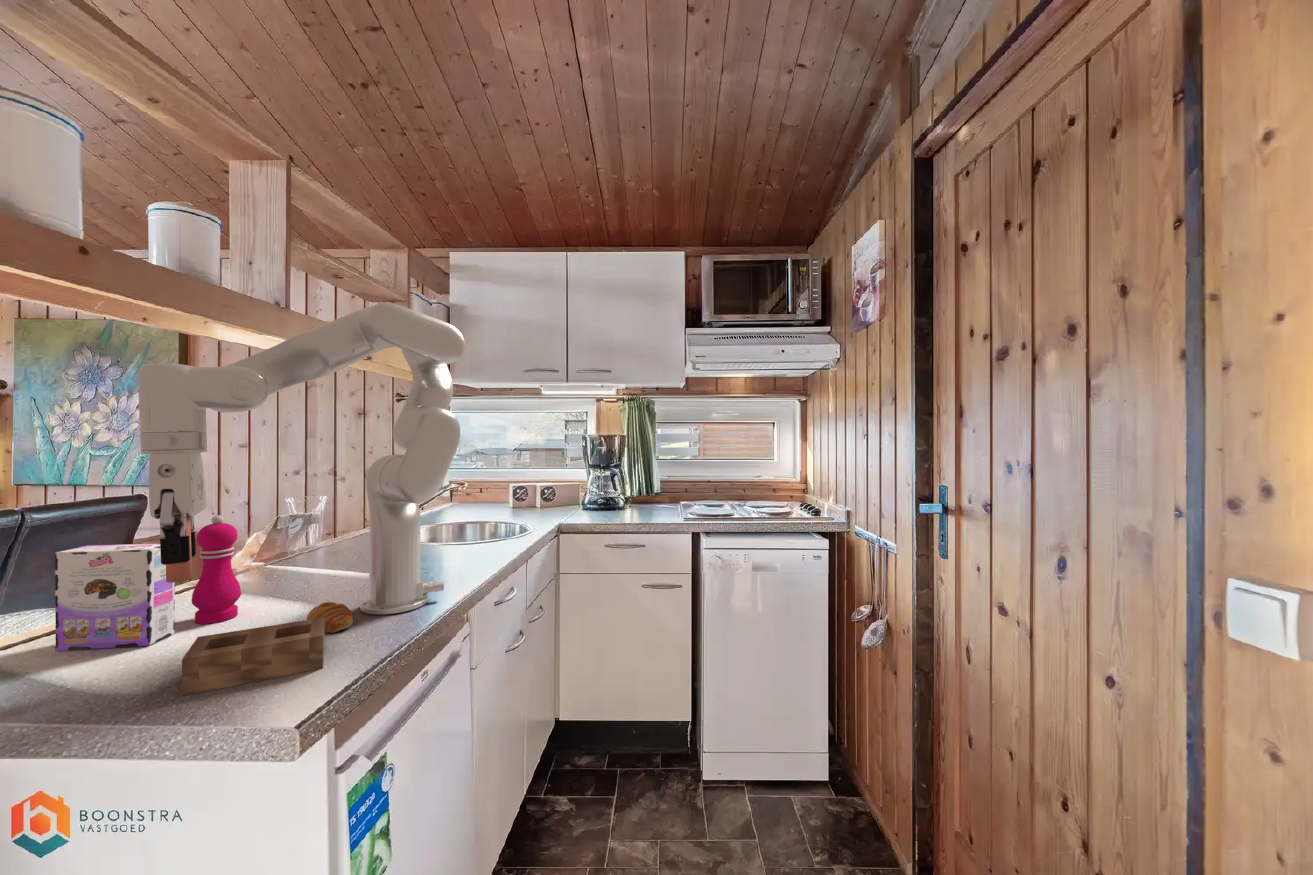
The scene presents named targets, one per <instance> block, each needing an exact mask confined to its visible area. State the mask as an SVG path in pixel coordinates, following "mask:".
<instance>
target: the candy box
mask: <svg viewBox="0 0 1313 875" xmlns="http://www.w3.org/2000/svg"><path fill="white" fill-rule="evenodd" d="M175 583H176V582H174V583H167V582H166V565H163V564H161V550H160V543H139V544H138V543H136V544H135V543H134V544H130V543H129V544H128V543H127V544H101V545H100V544H98V545H97V544H96V545H95V544H93V545H85V546H79V547H75V548H69V549H65V550H61V551H56V552H55V553H54V584H55V586H54V590H55V591H54V595H55V596H54V598H55V600H54V601H55V602H54V603H55V607H54V611H55V614H54V615H55V628H54V629H55V647H54V650H55V652H67V651H75V650H76V651H77V650H78V651H79V650H97V649H98V650H99V649H112V648H113V649H114V648H129V647H144V646H147V647H148V646H151V645H152V644H155V643H158V642H159V641H162V640H164V639H166V638H168V637H170V636H172V635H174V634H175V617H176V616H175V604H176V602H175V595H176V594H175V593H176V592H175V589H176V588H175V586H176V585H175Z"/></svg>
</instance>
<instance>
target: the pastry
mask: <svg viewBox="0 0 1313 875" xmlns="http://www.w3.org/2000/svg"><path fill="white" fill-rule="evenodd" d="M324 617H325V634H327V633H331V634H334V633H337V632H339V631H341V630H344V629H349V628H351V626H352V625H353V623H354V617H353V613H352V611H351V609H350V608H349V607H348V606H347V605H345V604H344V603H336V602H333V601H332V602H331V601H327V602H322V603H320V604H319V605H318V606H314V607H313V608H312V609H311V610H310V611H309V613H308V615H307V616H306V619H305V620H311V619H318V618H324Z"/></svg>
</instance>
